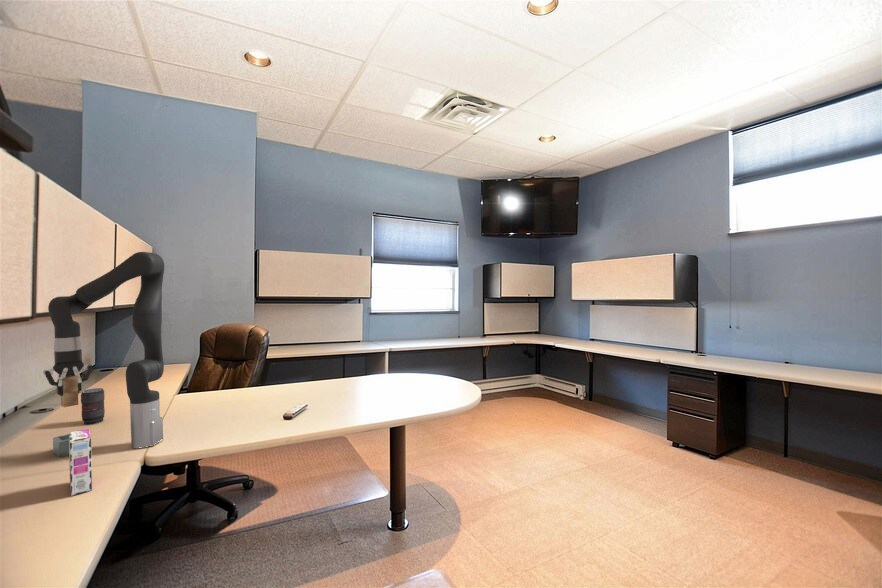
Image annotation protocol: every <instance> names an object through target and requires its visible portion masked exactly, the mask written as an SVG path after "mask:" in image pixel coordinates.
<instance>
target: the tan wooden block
mask: <svg viewBox="0 0 882 588" xmlns="http://www.w3.org/2000/svg"><path fill="white" fill-rule="evenodd" d="M62 386H63V396H60V401H61V402H60V406H61V407H63V408H68V407H74V406H78V405H79V393H78V376H75V375H73V376H71V375H70V376H66V377H65V378H63V384H62Z"/></svg>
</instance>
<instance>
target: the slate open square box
mask: <svg viewBox="0 0 882 588" xmlns="http://www.w3.org/2000/svg"><path fill="white" fill-rule="evenodd" d="M52 451H53V453H54V454H55V455H56V456H57V457H58V458H61V457H66V456H69V433H67V434H62V435H59V436H53V437H52Z"/></svg>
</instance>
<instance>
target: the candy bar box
mask: <svg viewBox="0 0 882 588" xmlns="http://www.w3.org/2000/svg"><path fill="white" fill-rule="evenodd" d="M68 434H69V455H68V456H69V457H68V458H69V459H68V460H69V461H68V462H69V465H68V466H69V488H70V496H71V497H73V496H77V495H81V494H84V493H89V492H91V491H93V470H92V468H93V466H92V465H93V464H92V463H93V461H92V458H93V457H92V436H91V432H90V429H89V428H86V429H80V430H75V431H71V432H69V433H68Z"/></svg>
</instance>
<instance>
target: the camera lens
mask: <svg viewBox="0 0 882 588" xmlns="http://www.w3.org/2000/svg"><path fill="white" fill-rule="evenodd" d="M80 393H81V394H80V404H81V421H82V422H83V425H85V426H87V425H94V424H99V423H102V422H103V421H104V418H105V413H106V411H105V390H104V388H102V387H97V388H96V387H94V388H88V389H85V390H81V392H80Z"/></svg>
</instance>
